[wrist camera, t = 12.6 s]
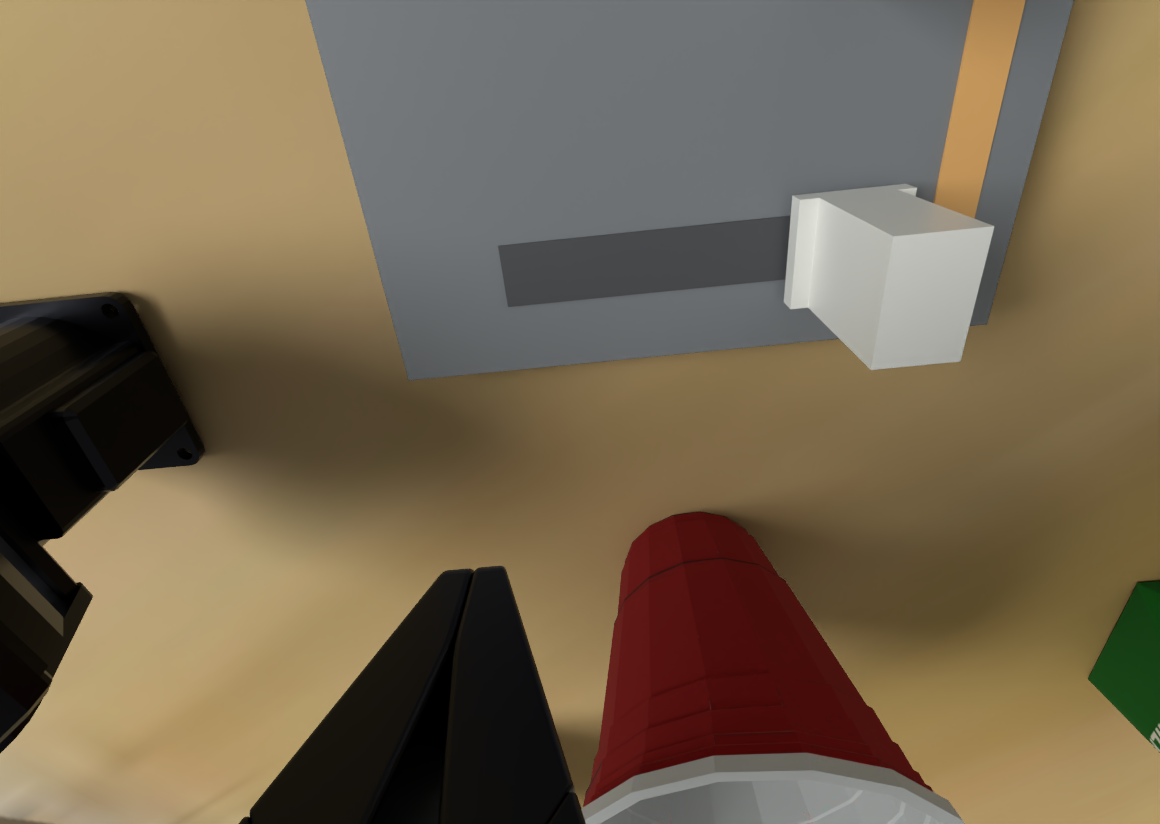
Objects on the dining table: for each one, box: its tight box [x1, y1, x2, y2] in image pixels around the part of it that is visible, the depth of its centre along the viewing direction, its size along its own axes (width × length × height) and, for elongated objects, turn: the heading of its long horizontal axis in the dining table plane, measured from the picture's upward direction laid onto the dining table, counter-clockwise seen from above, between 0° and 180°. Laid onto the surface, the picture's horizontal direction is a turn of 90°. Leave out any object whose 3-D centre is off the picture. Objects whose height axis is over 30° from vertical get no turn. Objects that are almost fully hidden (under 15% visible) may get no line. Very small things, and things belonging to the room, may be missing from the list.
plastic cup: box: [581, 512, 964, 824], centre depth 21 cm, size 11×11×12 cm
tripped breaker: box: [784, 184, 994, 370], centre depth 15 cm, size 3×3×5 cm
